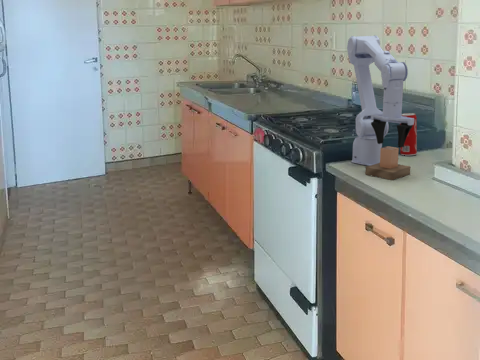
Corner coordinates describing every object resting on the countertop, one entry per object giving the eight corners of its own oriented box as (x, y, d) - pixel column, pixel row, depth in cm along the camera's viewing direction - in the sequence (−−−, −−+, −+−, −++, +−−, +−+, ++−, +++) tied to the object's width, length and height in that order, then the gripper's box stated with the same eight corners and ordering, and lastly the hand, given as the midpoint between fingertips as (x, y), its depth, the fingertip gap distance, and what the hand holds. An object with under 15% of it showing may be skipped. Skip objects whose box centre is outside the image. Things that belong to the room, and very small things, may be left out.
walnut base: (365, 174, 183) (365, 166, 182) (383, 168, 189) (383, 161, 189) (392, 180, 176) (392, 172, 175) (410, 174, 182) (410, 166, 181)
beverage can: (417, 156, 205) (419, 115, 201) (398, 156, 206) (400, 114, 202) (415, 152, 211) (418, 112, 207) (397, 152, 212) (399, 112, 208)
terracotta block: (379, 166, 182) (380, 148, 181) (386, 164, 185) (387, 146, 183) (390, 168, 179) (391, 150, 178) (397, 166, 182) (398, 148, 180)
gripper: (365, 101, 180) (363, 143, 183) (406, 105, 169) (403, 150, 173) (378, 99, 184) (376, 140, 188) (418, 103, 174) (416, 146, 177)
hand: (390, 145), depth 181 cm, fingers open, 7 cm apart
